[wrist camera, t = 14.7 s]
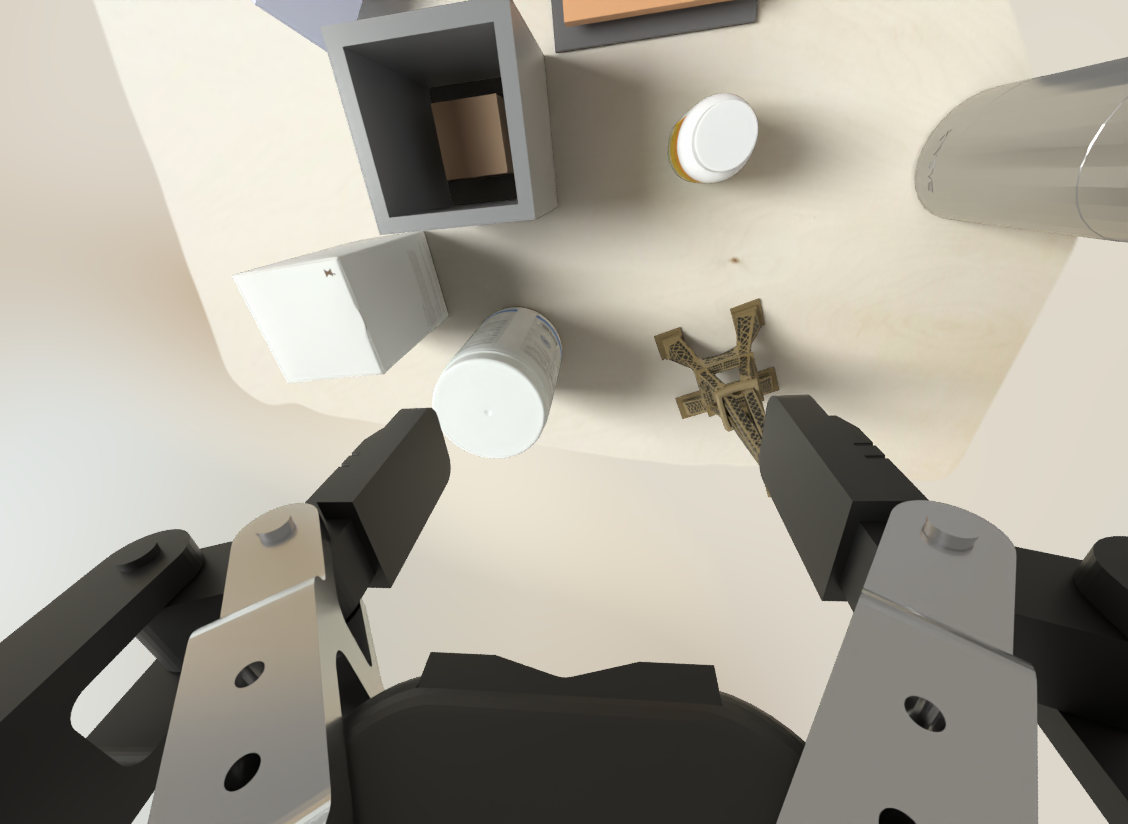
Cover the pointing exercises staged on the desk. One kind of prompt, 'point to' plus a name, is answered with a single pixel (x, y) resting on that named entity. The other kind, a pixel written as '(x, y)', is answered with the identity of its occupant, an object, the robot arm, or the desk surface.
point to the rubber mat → (650, 24)
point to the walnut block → (473, 137)
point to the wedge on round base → (311, 15)
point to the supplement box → (346, 306)
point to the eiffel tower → (735, 399)
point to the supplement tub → (500, 384)
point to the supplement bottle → (713, 139)
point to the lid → (620, 9)
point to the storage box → (405, 119)
